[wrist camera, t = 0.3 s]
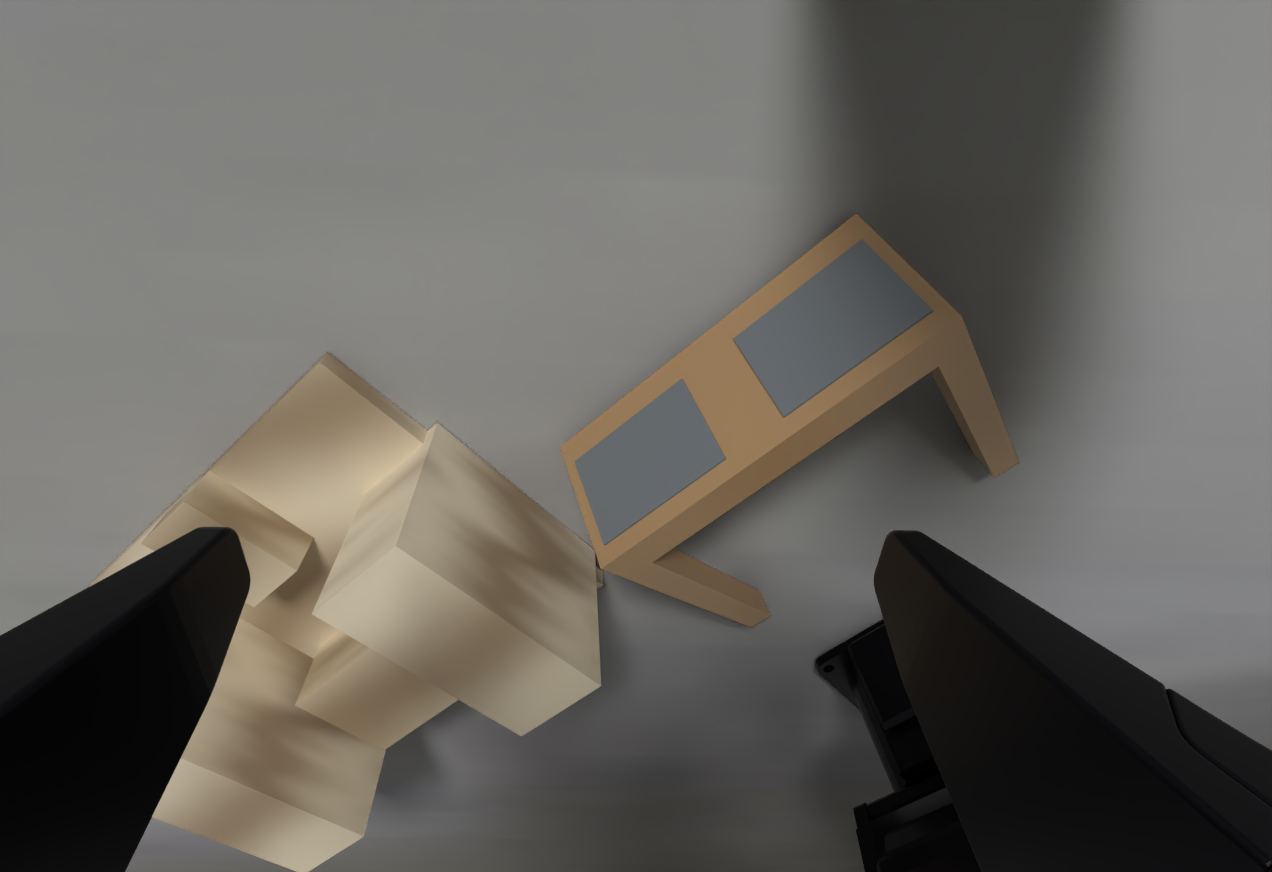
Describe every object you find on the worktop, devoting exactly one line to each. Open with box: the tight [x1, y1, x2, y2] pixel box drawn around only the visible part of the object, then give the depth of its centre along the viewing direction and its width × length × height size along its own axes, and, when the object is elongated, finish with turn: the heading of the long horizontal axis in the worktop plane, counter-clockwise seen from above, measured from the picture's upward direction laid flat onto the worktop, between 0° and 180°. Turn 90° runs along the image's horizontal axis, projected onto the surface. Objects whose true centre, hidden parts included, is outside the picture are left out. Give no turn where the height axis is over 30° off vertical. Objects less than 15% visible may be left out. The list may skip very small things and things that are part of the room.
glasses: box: [560, 213, 1019, 627], centre depth 24 cm, size 10×12×5 cm
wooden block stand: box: [89, 352, 603, 872], centre depth 23 cm, size 13×15×6 cm
